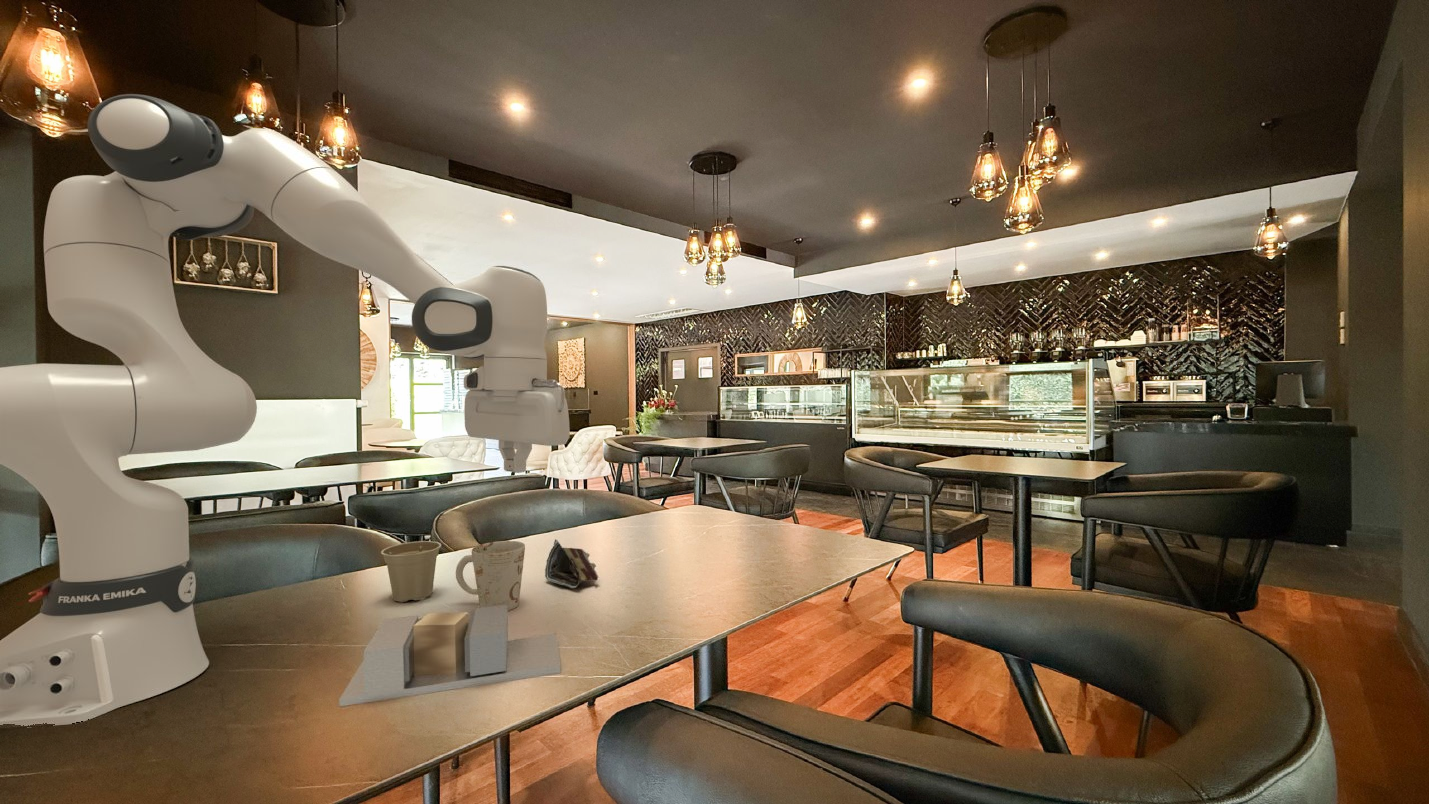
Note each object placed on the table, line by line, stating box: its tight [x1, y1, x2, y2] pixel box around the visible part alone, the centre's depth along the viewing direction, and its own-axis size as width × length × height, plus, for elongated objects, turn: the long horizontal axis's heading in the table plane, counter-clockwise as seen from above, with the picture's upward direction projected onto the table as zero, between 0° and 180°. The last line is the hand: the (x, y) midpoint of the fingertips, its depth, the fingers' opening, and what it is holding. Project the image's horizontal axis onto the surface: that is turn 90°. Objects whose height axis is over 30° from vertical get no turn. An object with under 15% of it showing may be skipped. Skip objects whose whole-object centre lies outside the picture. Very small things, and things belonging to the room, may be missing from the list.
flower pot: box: [380, 540, 442, 603], centre depth 101 cm, size 9×9×9 cm
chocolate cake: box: [544, 538, 599, 589], centre depth 109 cm, size 10×7×12 cm
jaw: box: [464, 605, 509, 676], centre depth 74 cm, size 5×10×5 cm, turn 19°
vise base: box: [338, 615, 562, 707], centre depth 73 cm, size 24×10×6 cm, turn 108°
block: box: [413, 611, 470, 675], centre depth 72 cm, size 5×4×6 cm
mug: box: [455, 540, 526, 612], centre depth 96 cm, size 8×13×10 cm, turn 78°
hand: (514, 471), depth 85 cm, fingers closed
